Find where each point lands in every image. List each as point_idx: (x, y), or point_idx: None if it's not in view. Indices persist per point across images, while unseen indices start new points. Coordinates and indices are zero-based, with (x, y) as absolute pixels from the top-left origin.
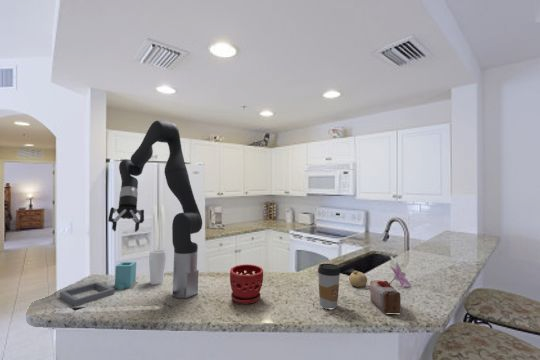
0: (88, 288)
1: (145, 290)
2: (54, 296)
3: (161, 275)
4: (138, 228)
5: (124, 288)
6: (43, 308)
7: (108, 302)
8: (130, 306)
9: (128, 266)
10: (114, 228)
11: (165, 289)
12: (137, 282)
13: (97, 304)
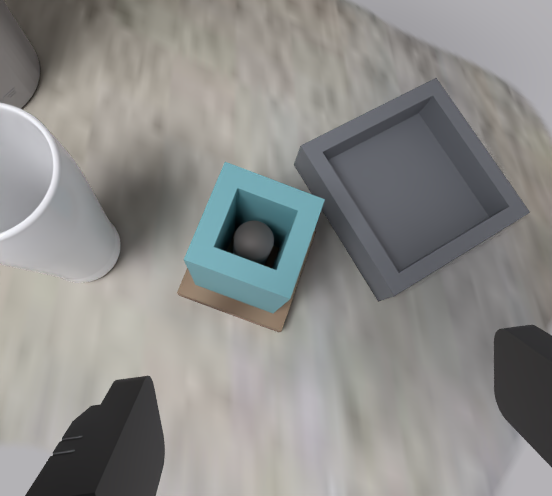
0: (420, 259)
1: (152, 200)
2: (542, 300)
3: (40, 196)
4: (81, 425)
5: None
6: (533, 175)
7: (311, 126)
8: (227, 49)
9: (241, 168)
10: (539, 331)
11: None
12: (184, 283)
13: None
